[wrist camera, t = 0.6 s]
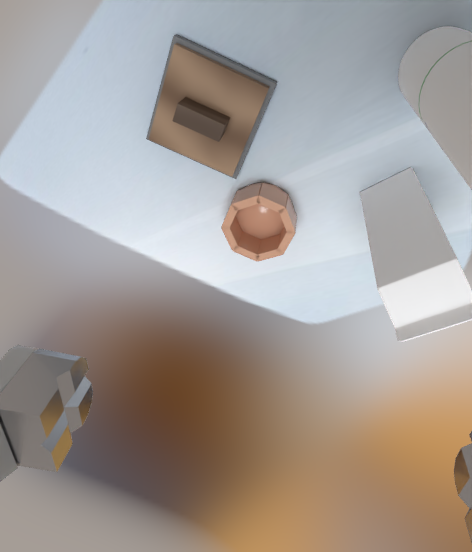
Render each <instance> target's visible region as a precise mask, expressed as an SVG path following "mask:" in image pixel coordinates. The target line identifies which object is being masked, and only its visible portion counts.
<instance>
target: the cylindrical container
mask: <svg viewBox="0 0 472 552" xmlns="http://www.w3.org/2000/svg"><path fill="white" fill-rule="evenodd" d="M398 83H399V87H400V90H401V92H402V94H403V96H404V97H405V99H406V100H407V102H408V103H409V104H410V106H411V107H412V108H413V110H414V111H415V113H416V114H417V115H418V117H419V118H420V119H421V121H422V122H423V124H424V125H425V126H426V128H427V129H428V130H429V132H430V133H431V135H432V136H433V137H434V139H435V140H436V141H437V143H438V144H439V146H440V147H441V148H442V150H443V151H444V152H445V154H446V155H447V157H448V158H449V159H450V161H451V162H452V163H453V165H454V166H455V168H456V169H457V170H458V172H459V173H460V174H461V176H462V177H463V179H464V180H465V181H466V183H467V184H468V185H469V187H470V188H471V190H472V32H470V31H467V30H464V29H461V28H458V27H452V26H444V27H438V28H435V29H432V30H430V31H428V32H426V33H424V34H422V35H421V36H420V37H418V38H417V39H416V40H415V41H414V42H413V43H412V44H411V45H410V46H409V48H408V49H407V50H406V52H405V54H404V56H403V58H402V60H401V63H400V66H399V72H398Z"/></svg>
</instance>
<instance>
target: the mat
mask: <svg viewBox="0 0 472 552" xmlns="http://www.w3.org/2000/svg"><path fill="white" fill-rule="evenodd" d="M176 43H178V44H180V45H182V46H184V47H187V48H189V49H191V50H193V51H195V52H197V53H199V54H201V55H204V56H206V57H208V58H210V59H212V60H214V61H216V62H218V63H221V64H223V65H225V66H227V67H229V68H231V69H233V70H235V71H238V72H240V73H242V74H244V75H246V76H248V77H250V78H252V79H255V80H257V81H259V82H261V83H263V84H265V85H267V86H269V90H268V92H267V95H266V97H265V99H264V102H263V104H262V107H261V109H260V111H259V114H258V116H257V119H256V121H255V123H254V126H253V128H252V131H251V133H250V135H249V138H248V140H247V143H246V145H245V148H244V150H243V152H242V155H241V157H240V160H239V162H238V164H237V167H236V169H235V172H234V174H233V176H232V178H235V179H236V178H237V176H238V174H239V171H240V169H241V166H242V164H243V162H244V159H245V157H246V155H247V152H248V150H249V148H250V145H251V143H252V141H253V138H254V136H255V133H256V131H257V129H258V126H259V124H260V122H261V119H262V117H263V115H264V112H265V110H266V107H267V105H268V103H269V100H270V98H271V96H272V93H273V91H274V89H275V86H276V84H277V82H276V81H274V80H272V79H270V78H268V77H266V76H264V75H261V74H259V73H257V72H255V71H253V70H251V69H249V68H247V67H245V66H242V65H240V64H238V63H236V62H234V61H232V60H230V59H228V58H226V57H223V56H221V55H219V54H217V53H215V52H213V51H211V50H209V49H206V48H204V47H202V46H200V45H198V44H196V43H194V42H192V41H190V40H187V39H185V38H183V37H181V36H179V35H177V34H176V35H174V36H173V40H172V44H171V48H170V51H169V55H168V59H167V63H166V66H165V70H164V74H163V78H162V81H161V85H160V89H159V93H158V97H157V100H156V104H155V108H154V112H153V115H152V119H151V123H150V127H149V130H148V134H147V138H146V139H147V140H149V136H150V132H151V128H152V125H153V121H154V117H155V114H156V110H157V106H158V102H159V99H160V95H161V91H162V88H163V84H164V80H165V76H166V73H167V69H168V65H169V62H170V58H171V54H172V51H173V47H174V44H176ZM150 141H151V140H150ZM152 142H153V141H152ZM154 143H155V142H154ZM156 144H158V143H156ZM159 145H160V144H159ZM161 146H162V145H161ZM163 147H164V146H163ZM165 148H167V147H165ZM167 149H169V148H167ZM170 150H171V149H170ZM172 151H173V150H172ZM174 152H176V151H174ZM176 153H178V152H176ZM179 154H180V153H179ZM181 155H182V154H181ZM183 156H184V155H183ZM185 157H187V156H185ZM188 158H189V157H188ZM190 159H191V158H190ZM192 160H193V159H192ZM194 161H196V160H194ZM197 162H198V161H197ZM199 163H200V162H199ZM201 164H202V163H201ZM203 165H205V164H203ZM206 166H207V165H206ZM208 167H209V166H208ZM210 168H211V167H210ZM212 169H214V168H212ZM214 170H216V169H214ZM217 171H218V170H217ZM219 172H220V171H219ZM221 173H222V172H221ZM223 174H225V173H223ZM226 175H227V174H226ZM228 176H229V175H228ZM230 177H231V176H230Z"/></svg>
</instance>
